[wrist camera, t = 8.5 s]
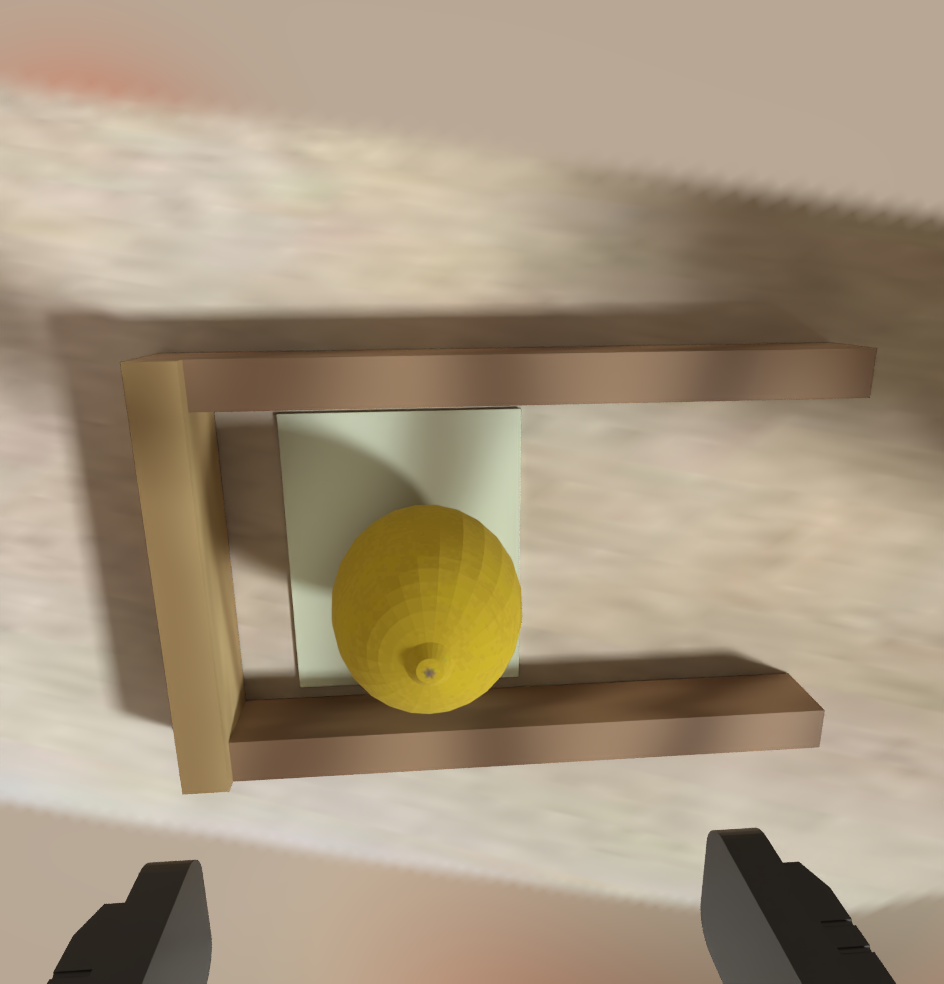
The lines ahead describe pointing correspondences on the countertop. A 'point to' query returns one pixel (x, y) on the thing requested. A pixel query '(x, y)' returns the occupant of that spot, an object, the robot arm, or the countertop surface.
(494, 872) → the countertop surface
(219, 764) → the brown wooden u-shaped frame
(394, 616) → the lemon
